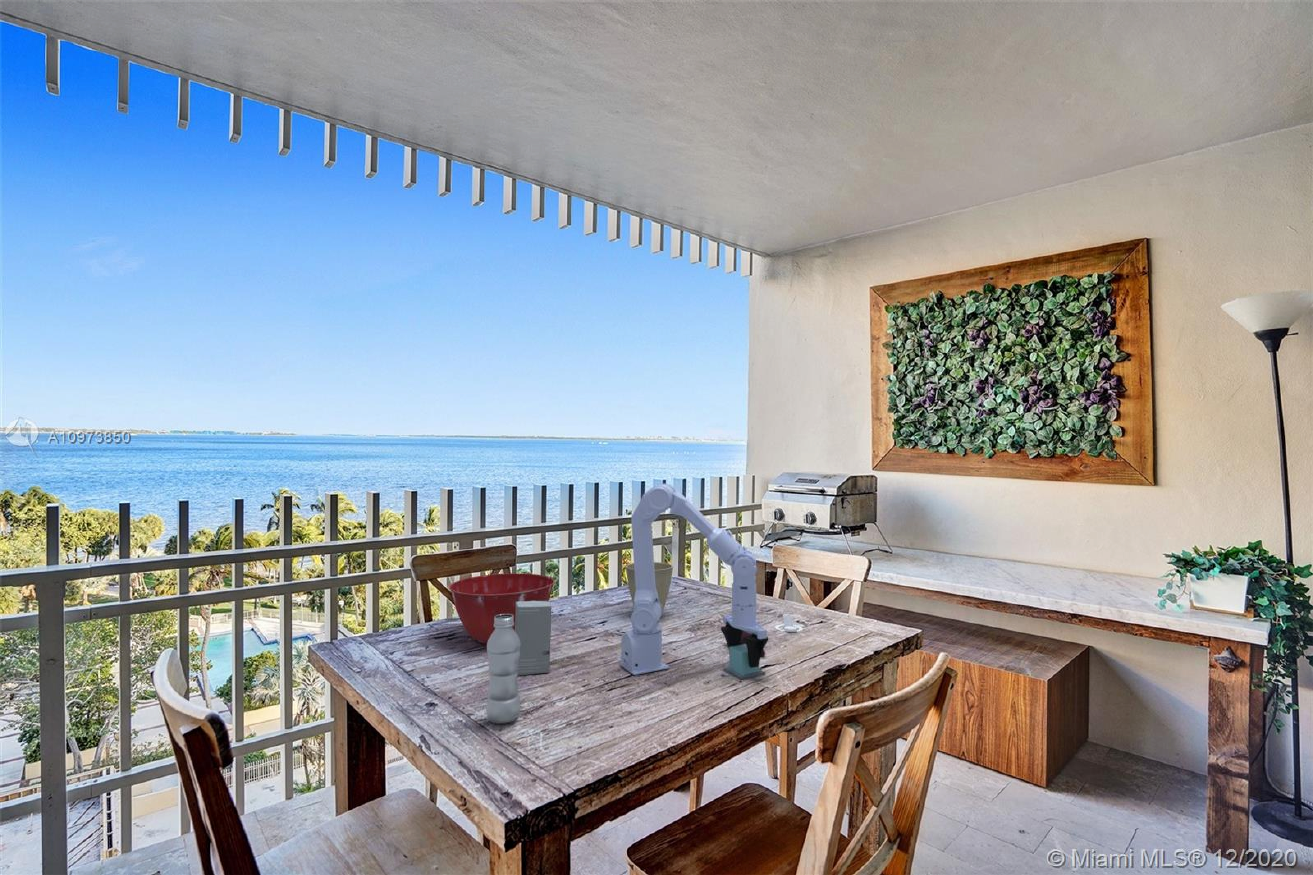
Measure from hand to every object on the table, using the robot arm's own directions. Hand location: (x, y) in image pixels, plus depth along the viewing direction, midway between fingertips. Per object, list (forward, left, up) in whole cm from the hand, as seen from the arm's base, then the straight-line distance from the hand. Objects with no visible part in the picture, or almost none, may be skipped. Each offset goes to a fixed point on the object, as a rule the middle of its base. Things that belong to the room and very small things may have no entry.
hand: (744, 661), depth 143 cm
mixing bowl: (-44, +53, -3) cm, 69 cm away
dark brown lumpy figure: (+9, +13, -3) cm, 16 cm away
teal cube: (0, 0, -2) cm, 2 cm away
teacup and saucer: (+30, +23, -3) cm, 38 cm away
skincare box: (-44, +25, -3) cm, 50 cm away
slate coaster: (0, 0, -2) cm, 2 cm away
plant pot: (+2, +53, -3) cm, 53 cm away
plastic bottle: (-56, +1, -3) cm, 57 cm away
